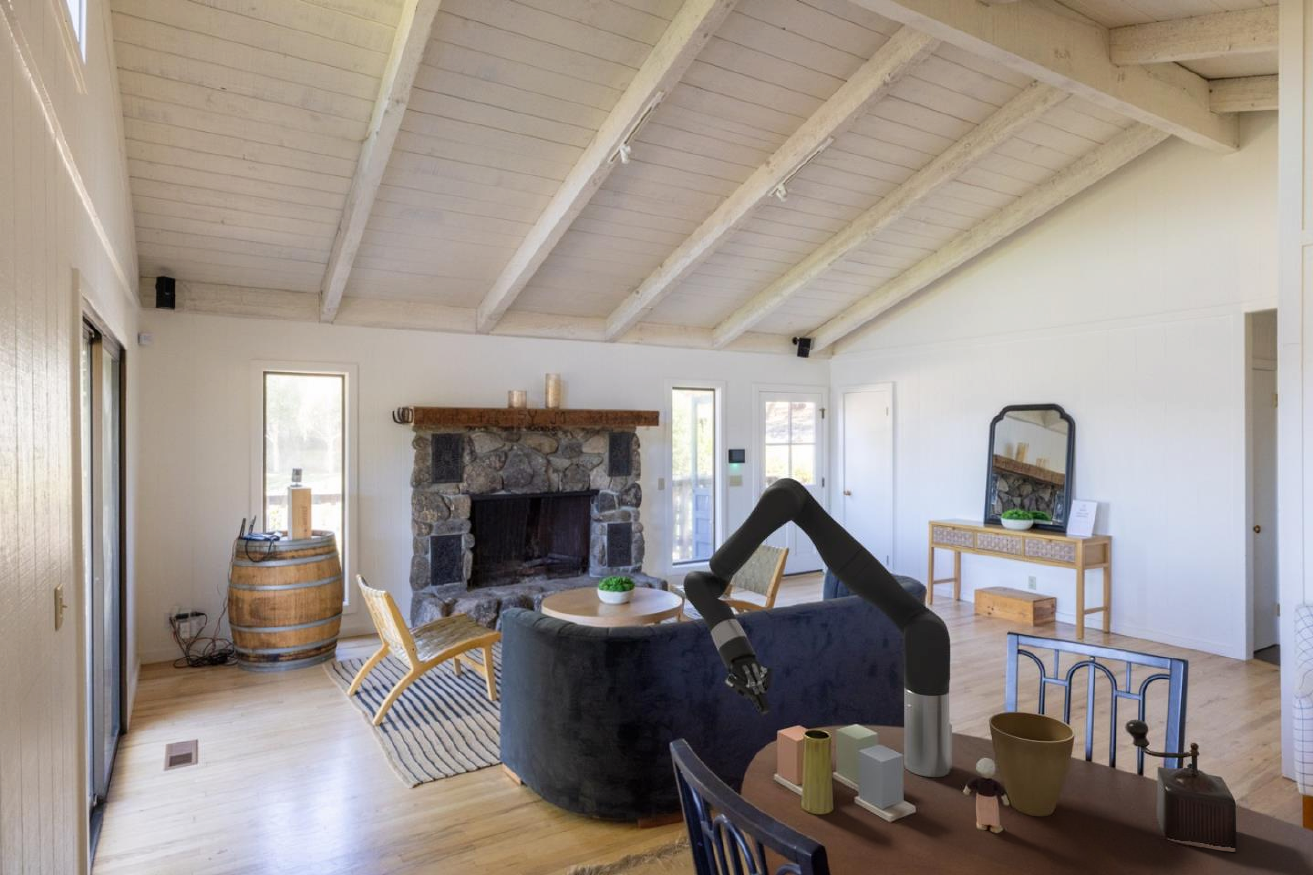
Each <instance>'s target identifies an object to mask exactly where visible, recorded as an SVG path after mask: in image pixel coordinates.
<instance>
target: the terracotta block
mask: <svg viewBox="0 0 1313 875" xmlns="http://www.w3.org/2000/svg"><path fill="white" fill-rule="evenodd" d="M806 730H809V729H808V728H806V727H803V726H802V725H794V726H791V727H788V728H784V729H780V730H777V732H776V734H777V735H776V737H777V738H776V741H777V744H776V746H777V749H776V752H777V756H776V757H777V758H776V759H777V765H776V766H777V767H776V768H777V769H776V770H777V771H776V774H779V775H780V776H782V777H784V778H785V779H787V780H789V781H791V782H792V783H794V784H796V785H799V784H802V783H803V753H804V732H805V731H806Z"/></svg>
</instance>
